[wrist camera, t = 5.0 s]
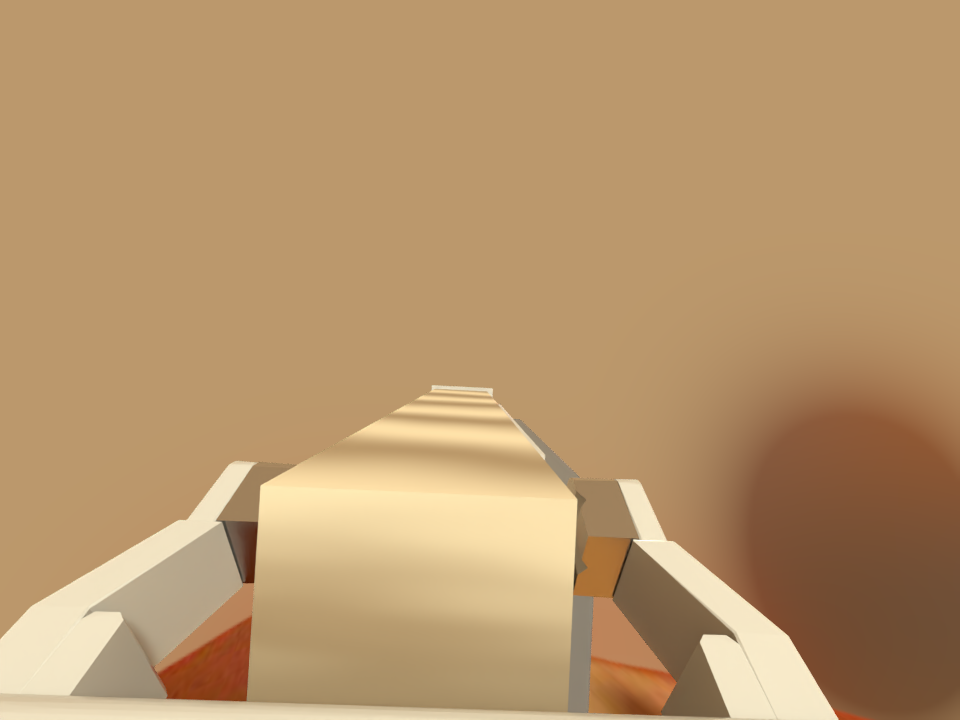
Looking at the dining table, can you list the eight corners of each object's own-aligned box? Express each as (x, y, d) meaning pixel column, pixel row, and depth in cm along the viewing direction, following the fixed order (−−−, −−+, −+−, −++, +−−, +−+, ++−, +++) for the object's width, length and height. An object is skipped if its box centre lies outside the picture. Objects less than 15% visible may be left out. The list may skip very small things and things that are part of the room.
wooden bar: (567, 717, 6) (577, 499, 6) (246, 707, 6) (260, 485, 6) (485, 426, 36) (487, 391, 36) (433, 424, 36) (435, 388, 36)
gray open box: (567, 1173, 16) (601, 420, 17) (253, 1171, 16) (300, 405, 17) (507, 680, 42) (521, 389, 43) (386, 676, 42) (403, 383, 43)
